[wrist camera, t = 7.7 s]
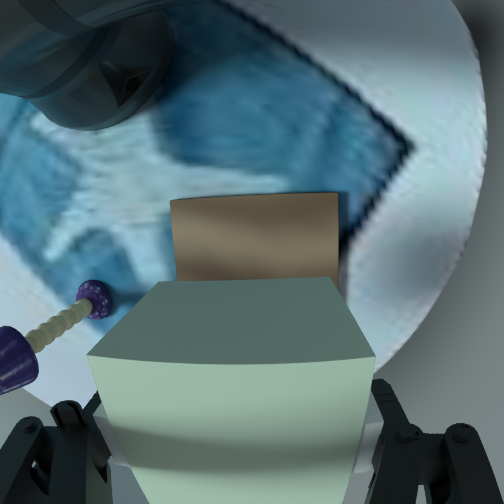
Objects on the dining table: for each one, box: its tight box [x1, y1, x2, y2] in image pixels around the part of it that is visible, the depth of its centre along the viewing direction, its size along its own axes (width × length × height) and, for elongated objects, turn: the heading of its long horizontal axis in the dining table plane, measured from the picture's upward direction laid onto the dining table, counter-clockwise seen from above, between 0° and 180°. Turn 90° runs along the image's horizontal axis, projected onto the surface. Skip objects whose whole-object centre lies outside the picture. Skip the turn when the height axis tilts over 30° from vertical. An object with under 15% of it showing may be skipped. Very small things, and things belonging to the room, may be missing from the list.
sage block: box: [86, 276, 376, 504], centre depth 12 cm, size 8×8×7 cm
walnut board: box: [170, 192, 338, 288], centre depth 27 cm, size 14×14×1 cm
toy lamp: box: [0, 280, 112, 395], centre depth 21 cm, size 5×5×17 cm
